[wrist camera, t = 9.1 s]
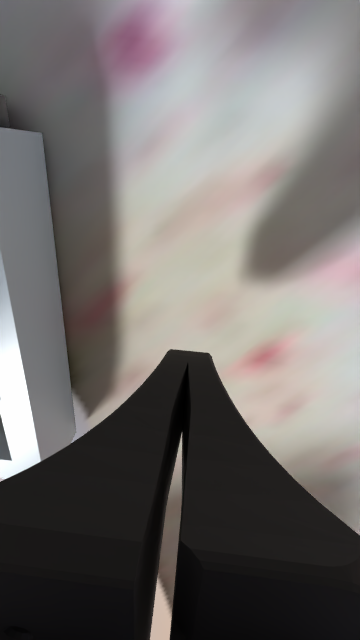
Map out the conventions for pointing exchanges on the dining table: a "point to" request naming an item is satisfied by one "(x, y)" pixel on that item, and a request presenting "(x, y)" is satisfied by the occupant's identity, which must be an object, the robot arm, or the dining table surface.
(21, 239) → the grey square frame
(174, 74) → the dining table surface
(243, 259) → the dining table surface
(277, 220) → the dining table surface
